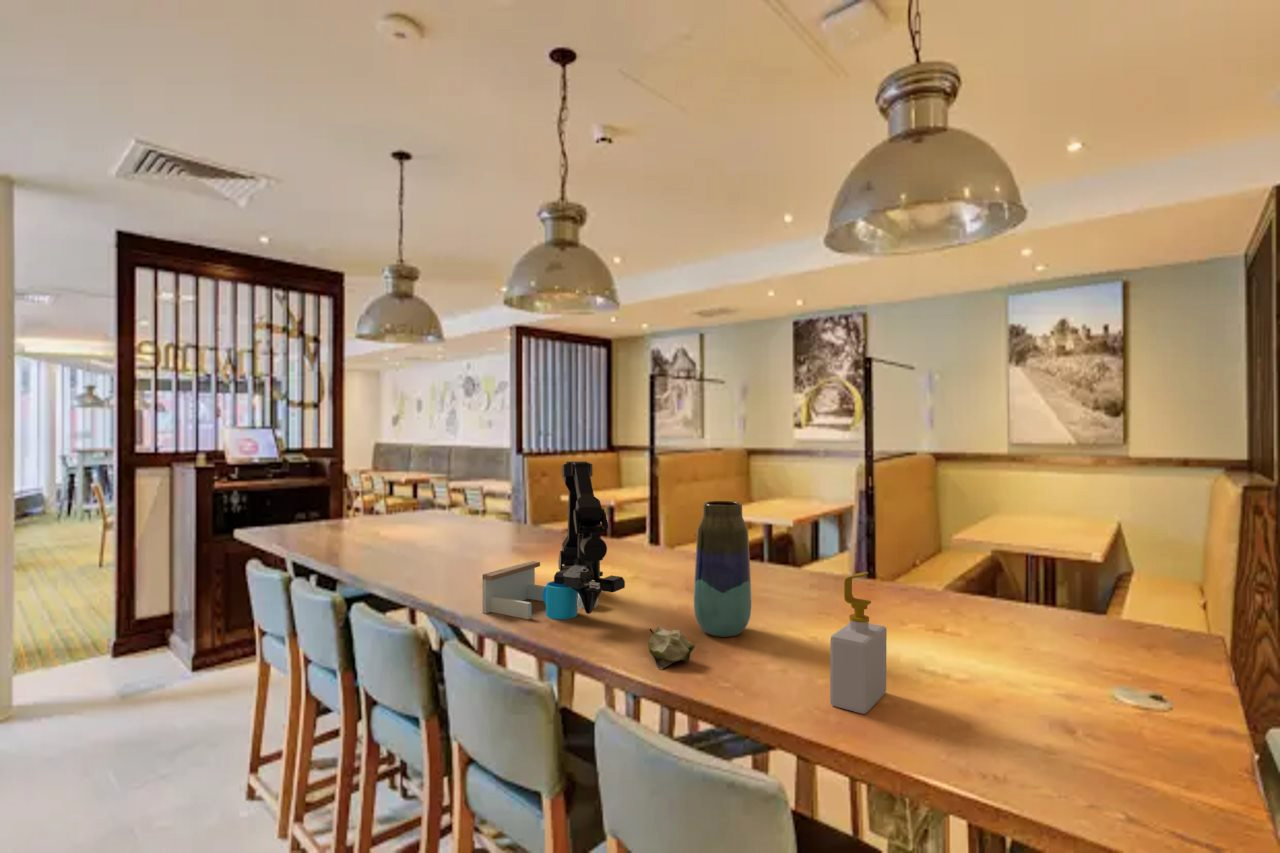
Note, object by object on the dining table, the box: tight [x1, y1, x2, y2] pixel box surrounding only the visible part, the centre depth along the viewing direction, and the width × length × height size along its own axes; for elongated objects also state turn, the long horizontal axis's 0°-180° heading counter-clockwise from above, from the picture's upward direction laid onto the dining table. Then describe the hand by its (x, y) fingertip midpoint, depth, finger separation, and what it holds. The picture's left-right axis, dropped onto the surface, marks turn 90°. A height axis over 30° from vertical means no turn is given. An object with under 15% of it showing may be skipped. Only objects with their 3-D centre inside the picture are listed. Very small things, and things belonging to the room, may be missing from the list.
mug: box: [543, 580, 578, 620], centre depth 174 cm, size 12×8×8 cm
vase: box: [693, 500, 752, 638], centre depth 159 cm, size 14×14×31 cm
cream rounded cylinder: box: [577, 592, 599, 610], centre depth 181 cm, size 6×6×5 cm
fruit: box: [648, 626, 696, 670], centre depth 139 cm, size 9×9×8 cm
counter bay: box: [482, 560, 546, 620], centre depth 179 cm, size 20×14×10 cm
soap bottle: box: [829, 571, 888, 715], centre depth 120 cm, size 12×7×23 cm, turn 143°
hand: (588, 613), depth 169 cm, fingers closed
